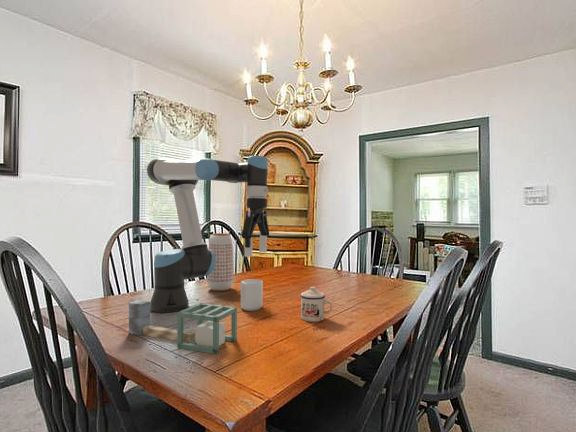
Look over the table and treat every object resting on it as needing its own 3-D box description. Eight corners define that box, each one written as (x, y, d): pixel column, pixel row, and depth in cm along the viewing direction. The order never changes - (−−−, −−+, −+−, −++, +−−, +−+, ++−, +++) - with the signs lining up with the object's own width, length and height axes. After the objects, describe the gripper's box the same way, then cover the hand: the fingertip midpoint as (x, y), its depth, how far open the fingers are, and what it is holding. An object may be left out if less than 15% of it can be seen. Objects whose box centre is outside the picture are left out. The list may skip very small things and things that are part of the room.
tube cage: (177, 347, 104) (177, 312, 103) (200, 334, 114) (200, 303, 114) (216, 354, 99) (216, 317, 99) (236, 340, 109) (236, 307, 109)
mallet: (128, 333, 115) (128, 302, 115) (138, 330, 118) (138, 300, 118) (188, 343, 107) (188, 310, 106) (196, 339, 110) (196, 307, 110)
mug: (255, 312, 140) (255, 284, 140) (236, 309, 143) (236, 282, 143) (269, 305, 151) (269, 278, 151) (251, 302, 154) (251, 277, 154)
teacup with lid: (297, 320, 130) (297, 288, 129) (304, 313, 138) (304, 283, 138) (329, 324, 125) (329, 291, 125) (335, 317, 134) (335, 286, 134)
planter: (231, 292, 173) (231, 234, 173) (204, 292, 174) (204, 234, 173) (235, 286, 187) (235, 233, 186) (210, 286, 187) (210, 232, 187)
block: (196, 346, 104) (196, 326, 104) (207, 339, 110) (207, 320, 110) (213, 349, 102) (213, 328, 102) (224, 342, 108) (224, 322, 108)
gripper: (252, 196, 120) (251, 259, 121) (277, 198, 144) (276, 251, 145) (232, 196, 123) (231, 257, 123) (260, 198, 146) (259, 250, 147)
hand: (255, 254), depth 134 cm, fingers open, 13 cm apart
